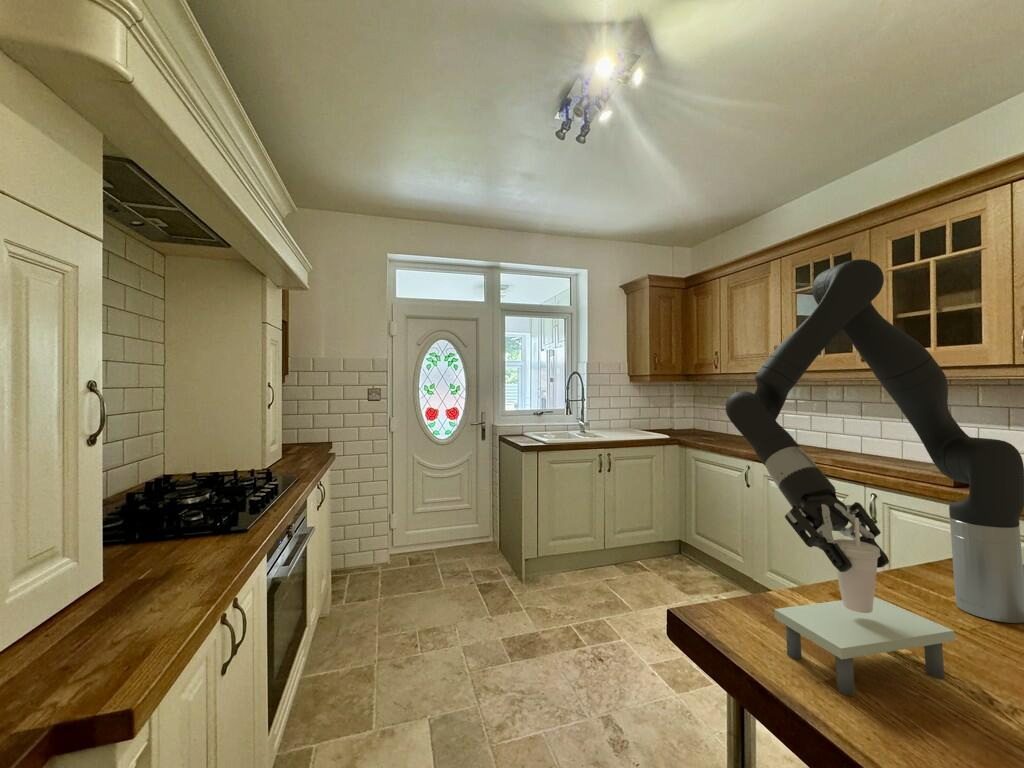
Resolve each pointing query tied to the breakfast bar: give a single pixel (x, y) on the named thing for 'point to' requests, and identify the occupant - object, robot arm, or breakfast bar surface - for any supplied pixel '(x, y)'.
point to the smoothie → (858, 573)
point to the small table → (863, 635)
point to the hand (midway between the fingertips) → (865, 567)
